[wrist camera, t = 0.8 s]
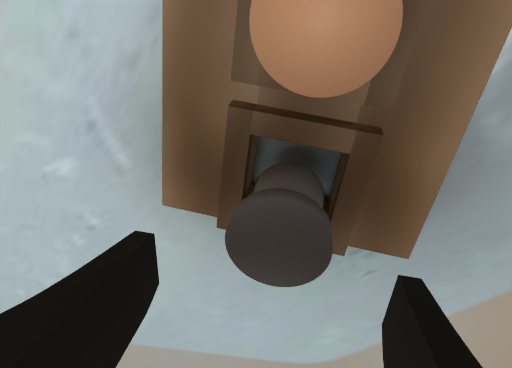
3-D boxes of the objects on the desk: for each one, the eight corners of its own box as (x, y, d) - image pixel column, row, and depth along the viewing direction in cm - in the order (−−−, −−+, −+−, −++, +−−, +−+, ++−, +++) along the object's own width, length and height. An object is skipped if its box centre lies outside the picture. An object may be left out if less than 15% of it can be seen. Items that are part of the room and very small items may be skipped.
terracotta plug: (403, -50, 11) (426, -53, 8) (368, 75, 13) (376, 109, 10) (280, -68, 11) (259, -77, 8) (263, 56, 13) (241, 84, 10)
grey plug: (343, 164, 15) (344, 214, 12) (323, 238, 17) (319, 296, 14) (251, 145, 15) (230, 190, 12) (241, 219, 17) (220, 273, 14)
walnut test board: (737, -574, 8) (898, -791, 6) (390, 262, 21) (396, 301, 18) (195, -583, 9) (146, -769, 7) (176, 214, 22) (156, 246, 19)
